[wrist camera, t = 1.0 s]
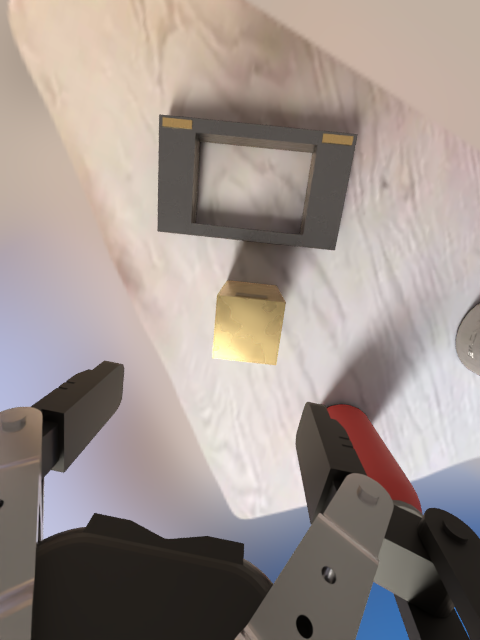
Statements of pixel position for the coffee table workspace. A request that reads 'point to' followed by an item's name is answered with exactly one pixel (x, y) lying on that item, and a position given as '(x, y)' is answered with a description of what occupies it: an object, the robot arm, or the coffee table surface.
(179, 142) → the grey rectangular frame
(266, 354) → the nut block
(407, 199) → the coffee table surface
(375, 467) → the beer can
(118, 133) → the coffee table surface
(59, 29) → the coffee table surface
